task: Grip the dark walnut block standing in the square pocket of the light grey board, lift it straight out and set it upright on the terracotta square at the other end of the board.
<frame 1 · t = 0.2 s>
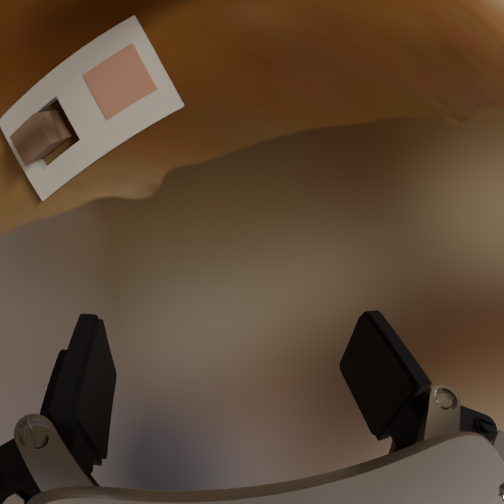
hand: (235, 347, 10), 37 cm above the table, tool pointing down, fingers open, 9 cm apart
walnut block: (53, 131, 36), resting in pocket board
pocket board: (83, 108, 35), on the table
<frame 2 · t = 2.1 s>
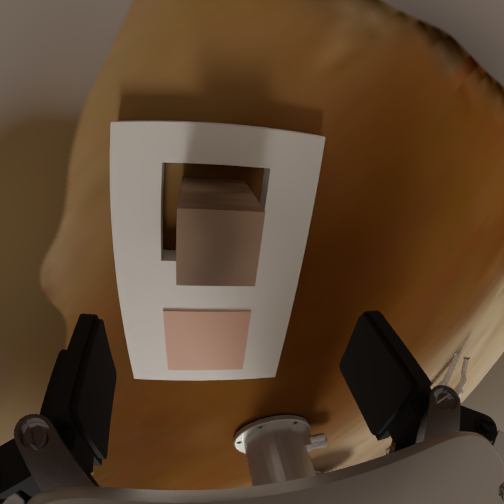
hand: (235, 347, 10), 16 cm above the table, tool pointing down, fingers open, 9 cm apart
llama figurine: (429, 383, 48), on the table
walnut block: (211, 207, 25), resting in pocket board
pocket board: (207, 270, 28), on the table
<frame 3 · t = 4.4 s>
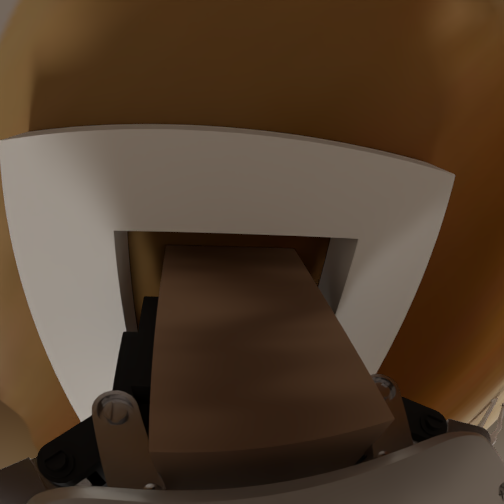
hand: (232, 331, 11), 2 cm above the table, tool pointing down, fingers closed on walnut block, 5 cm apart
llama figurine: (460, 428, 37), on the table
walnut block: (226, 299, 13), resting in pocket board, touching gripper
pocket board: (219, 386, 16), on the table
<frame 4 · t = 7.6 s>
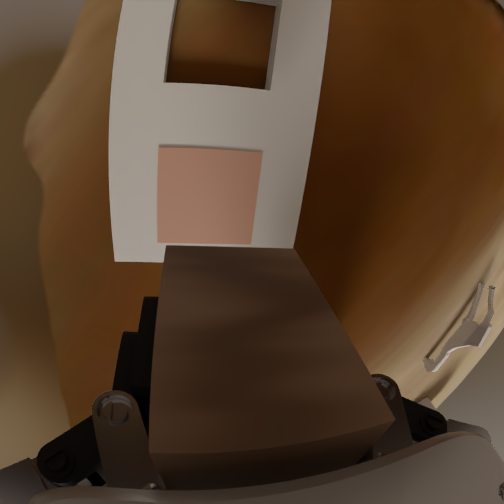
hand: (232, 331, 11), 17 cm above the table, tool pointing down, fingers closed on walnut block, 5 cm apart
llama figurine: (452, 321, 44), on the table
walnut block: (226, 299, 13), point 15 cm above the table, touching gripper
pocket board: (213, 109, 22), on the table
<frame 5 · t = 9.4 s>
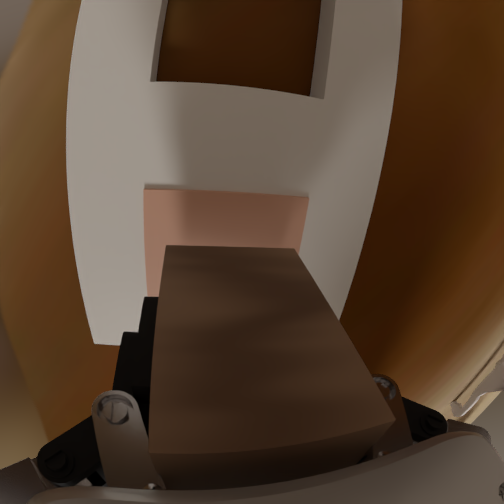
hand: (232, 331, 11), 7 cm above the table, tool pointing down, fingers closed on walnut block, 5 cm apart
llama figurine: (484, 363, 36), on the table
walnut block: (226, 299, 13), point 5 cm above the table, touching gripper
pocket board: (230, 125, 15), on the table
when the fingers open (5 cm above the table, at t = 10.7 s): walnut block drops 1 cm, resting on pocket board.
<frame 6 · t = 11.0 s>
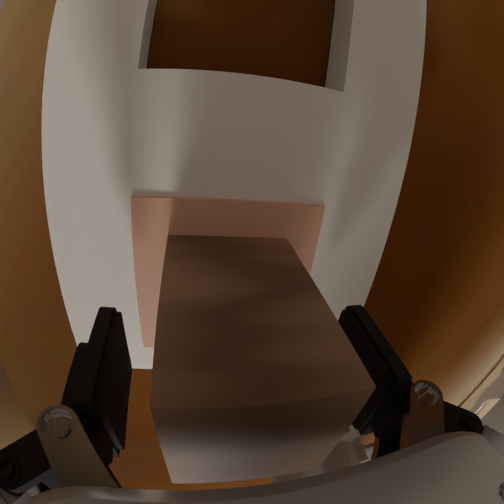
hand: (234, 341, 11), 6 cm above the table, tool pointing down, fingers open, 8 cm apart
llama figurine: (490, 369, 34), on the table
walnut block: (224, 286, 14), point 2 cm above the table, touching pocket board
pocket board: (233, 121, 12), on the table
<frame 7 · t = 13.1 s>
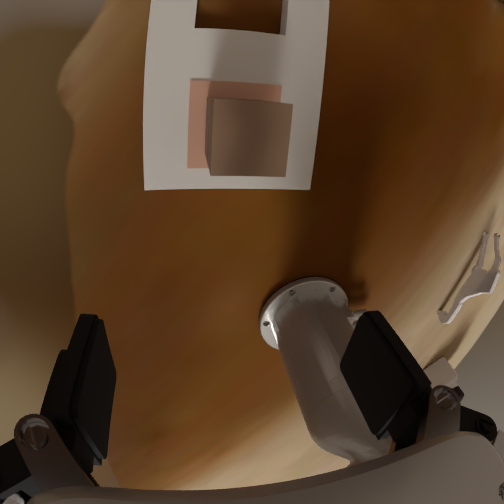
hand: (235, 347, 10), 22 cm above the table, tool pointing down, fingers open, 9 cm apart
llama figurine: (462, 272, 46), on the table
walnut block: (234, 125, 25), point 2 cm above the table, touching pocket board
pocket board: (235, 53, 24), on the table
medicine bottle: (431, 369, 61), on the table
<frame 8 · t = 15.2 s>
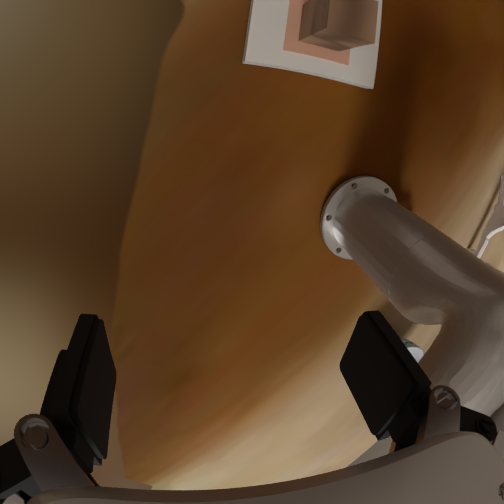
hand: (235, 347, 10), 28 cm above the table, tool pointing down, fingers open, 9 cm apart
llama figurine: (485, 212, 47), on the table
walnut block: (321, 27, 27), point 2 cm above the table, touching pocket board
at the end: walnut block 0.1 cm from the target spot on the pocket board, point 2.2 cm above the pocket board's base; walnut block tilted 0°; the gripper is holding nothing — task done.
